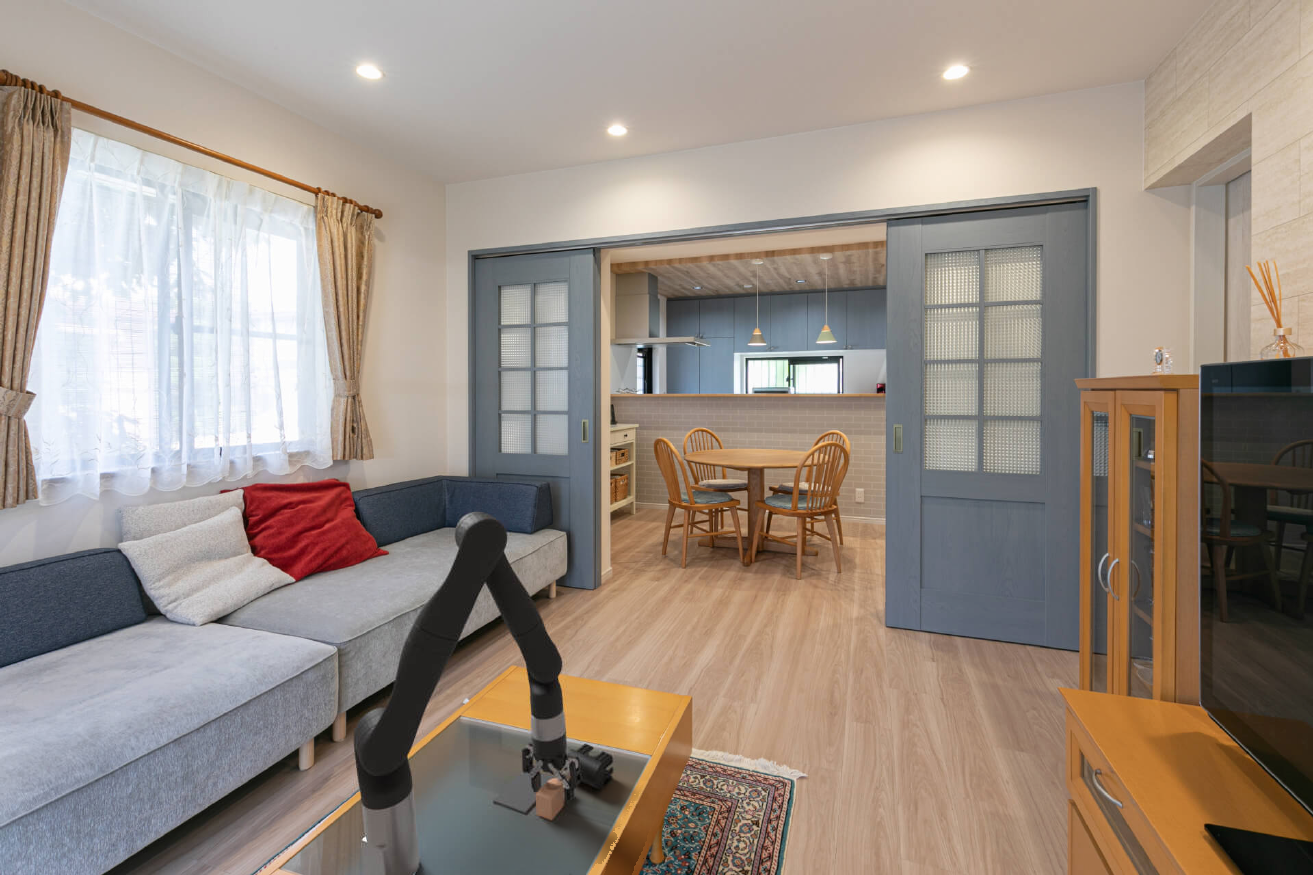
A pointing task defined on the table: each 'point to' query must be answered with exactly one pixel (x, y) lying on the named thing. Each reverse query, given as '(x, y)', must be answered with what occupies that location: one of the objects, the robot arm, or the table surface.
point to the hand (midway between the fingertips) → (553, 794)
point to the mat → (520, 793)
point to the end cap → (593, 766)
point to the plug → (550, 799)
